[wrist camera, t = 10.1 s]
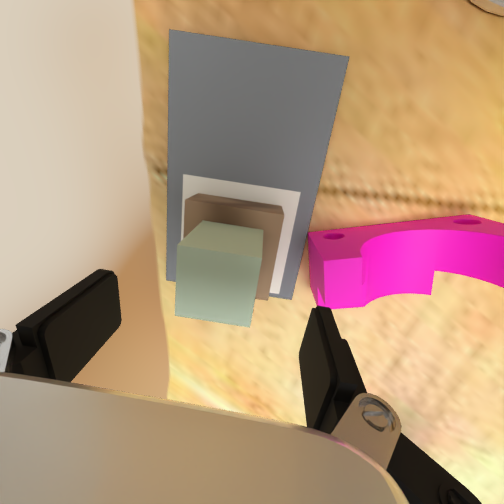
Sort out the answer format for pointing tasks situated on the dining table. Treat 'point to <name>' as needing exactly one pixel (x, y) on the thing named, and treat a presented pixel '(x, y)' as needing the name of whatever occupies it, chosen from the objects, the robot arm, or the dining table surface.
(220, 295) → the sage block
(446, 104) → the dining table surface
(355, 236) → the magenta saddle bracket
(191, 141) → the slate mat
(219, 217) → the walnut base block
